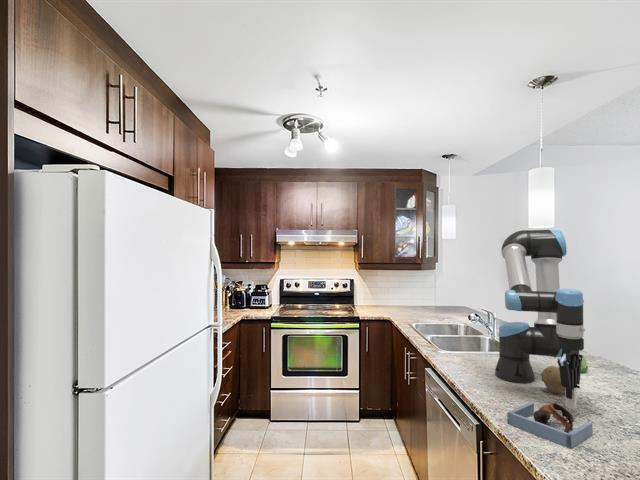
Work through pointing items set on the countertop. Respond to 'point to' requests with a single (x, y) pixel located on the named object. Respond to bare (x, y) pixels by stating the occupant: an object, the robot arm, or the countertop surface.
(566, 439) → the blue-grey u-shaped frame
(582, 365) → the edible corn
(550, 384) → the natural sponge
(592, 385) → the countertop surface
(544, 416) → the brown curved ring piece
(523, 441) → the countertop surface
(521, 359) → the robot arm
